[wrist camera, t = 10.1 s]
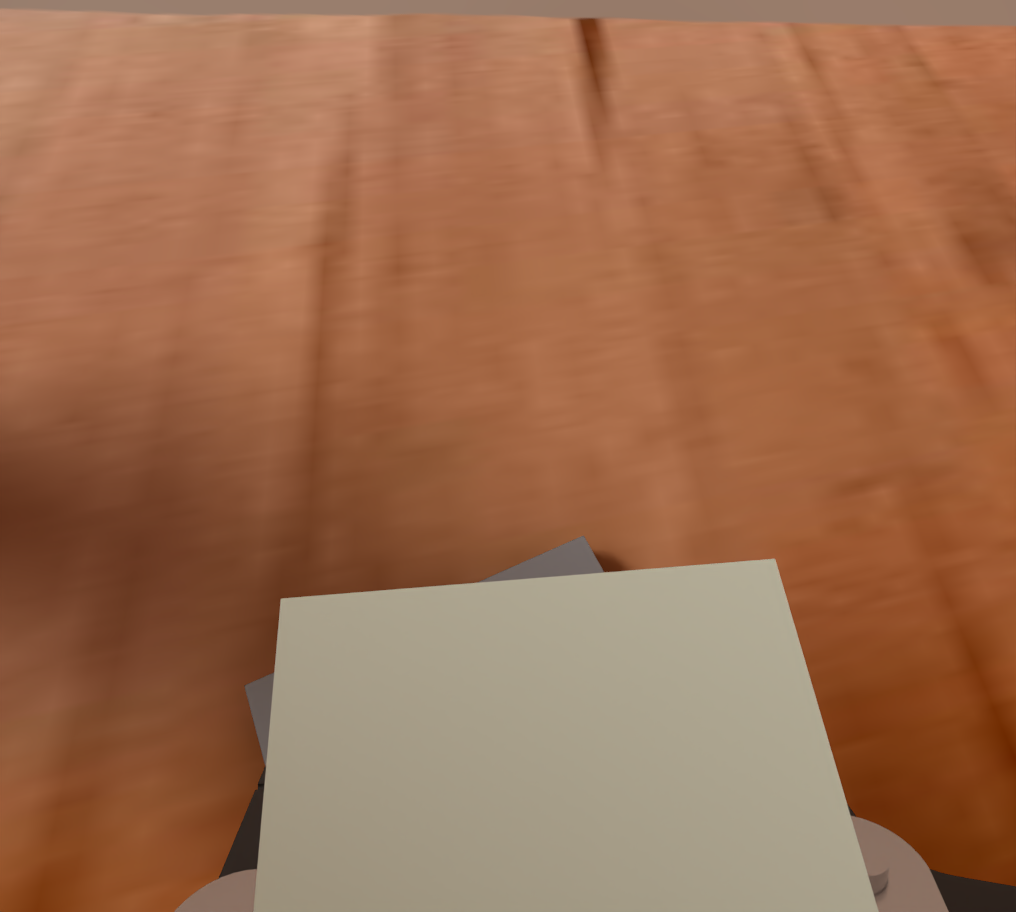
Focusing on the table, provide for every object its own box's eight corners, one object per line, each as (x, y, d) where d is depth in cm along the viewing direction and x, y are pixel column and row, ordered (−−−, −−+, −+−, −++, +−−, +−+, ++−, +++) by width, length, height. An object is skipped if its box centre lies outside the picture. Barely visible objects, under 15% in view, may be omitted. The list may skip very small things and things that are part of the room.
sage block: (652, 976, 12) (984, 1273, 4) (428, 998, 12) (212, 1364, 3) (616, 737, 14) (775, 558, 6) (423, 754, 14) (280, 599, 5)
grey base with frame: (257, 693, 26) (224, 673, 23) (580, 549, 29) (588, 515, 26) (429, 1333, 18) (412, 1430, 15) (855, 1047, 21) (912, 1081, 18)
